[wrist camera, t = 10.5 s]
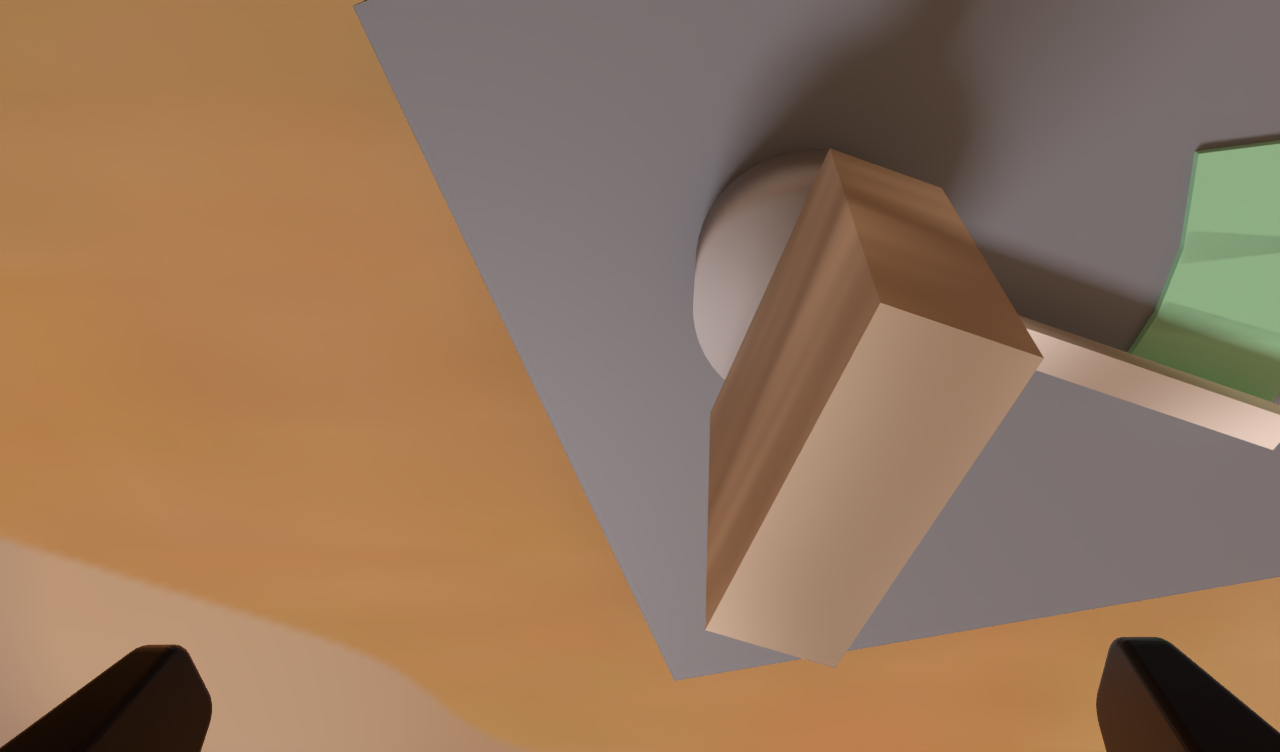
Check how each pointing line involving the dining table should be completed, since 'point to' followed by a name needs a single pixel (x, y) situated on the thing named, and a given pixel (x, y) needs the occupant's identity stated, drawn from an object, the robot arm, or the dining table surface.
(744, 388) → the tuning peg
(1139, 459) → the tuner dial board
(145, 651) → the robot arm
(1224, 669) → the dining table surface
